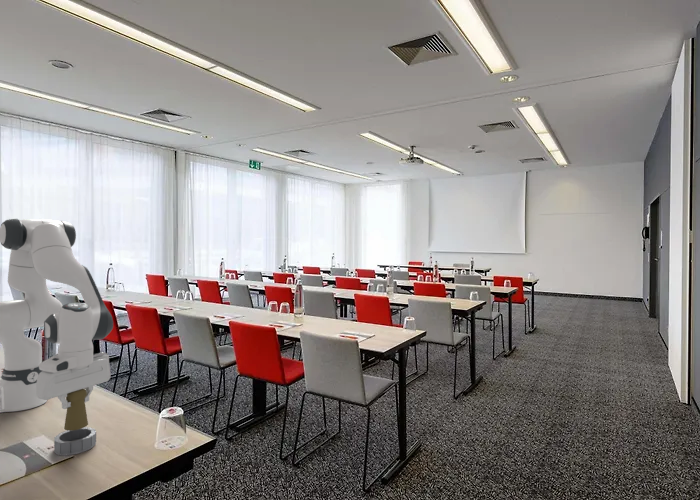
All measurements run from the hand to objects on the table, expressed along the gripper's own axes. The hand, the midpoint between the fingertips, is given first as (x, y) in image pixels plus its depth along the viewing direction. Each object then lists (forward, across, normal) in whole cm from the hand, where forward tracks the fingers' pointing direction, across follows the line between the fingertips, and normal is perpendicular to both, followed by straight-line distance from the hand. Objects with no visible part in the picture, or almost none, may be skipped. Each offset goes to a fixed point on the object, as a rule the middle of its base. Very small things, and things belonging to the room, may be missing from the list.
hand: (75, 404), depth 128 cm
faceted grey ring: (+13, 0, 0) cm, 13 cm away
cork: (+6, 0, 0) cm, 7 cm away
